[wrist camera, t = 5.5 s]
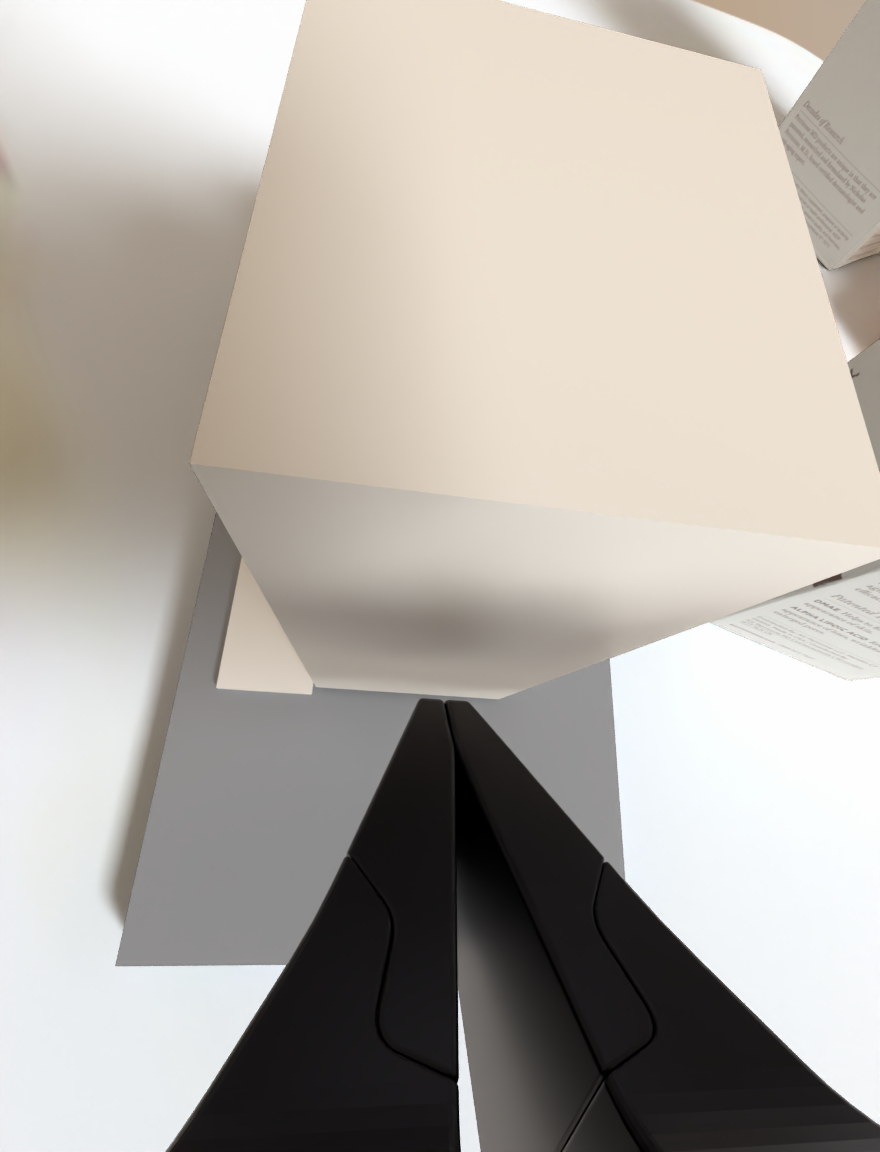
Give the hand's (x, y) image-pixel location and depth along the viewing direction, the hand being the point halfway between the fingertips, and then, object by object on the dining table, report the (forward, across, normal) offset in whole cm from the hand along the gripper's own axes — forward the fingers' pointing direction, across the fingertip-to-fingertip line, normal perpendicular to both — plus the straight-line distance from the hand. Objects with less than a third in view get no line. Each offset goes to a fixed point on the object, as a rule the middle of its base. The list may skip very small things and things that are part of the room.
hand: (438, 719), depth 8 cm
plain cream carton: (+8, +1, 0) cm, 8 cm away
